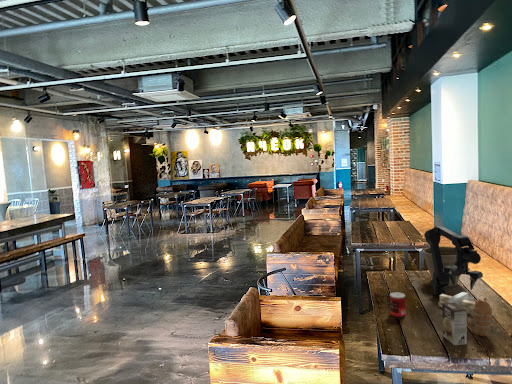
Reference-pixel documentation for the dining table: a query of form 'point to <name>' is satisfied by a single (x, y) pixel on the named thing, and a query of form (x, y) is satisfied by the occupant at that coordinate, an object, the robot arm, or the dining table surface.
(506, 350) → the dining table surface
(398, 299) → the canned food
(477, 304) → the cat ice cream
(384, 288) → the dining table surface
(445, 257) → the plant pot
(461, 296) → the slotted bar
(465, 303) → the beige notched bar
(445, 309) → the coffee box
